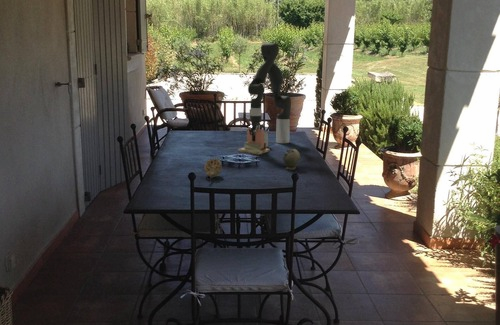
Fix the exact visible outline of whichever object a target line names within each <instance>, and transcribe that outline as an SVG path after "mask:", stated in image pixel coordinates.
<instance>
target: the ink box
mask: <svg viewBox="0 0 500 325" xmlns="http://www.w3.org/2000/svg"><path fill="white" fill-rule="evenodd" d="M268 132H269V131H268V130H264V143H266V148H268V147H269V134H268Z"/></svg>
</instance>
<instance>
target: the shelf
mask: <svg viewBox="0 0 500 325" xmlns="http://www.w3.org/2000/svg"><path fill="white" fill-rule="evenodd" d="M243 144H244V147H241V148H238V149H237V152H238V153H239V152H240V153H245V152H246V154H253V155H261V154H264V153H268V152H270V151H271V149H270V148H268V147H266V143H264V148H261V144H256V143H248V142H247V141H245V142H244V143H243Z"/></svg>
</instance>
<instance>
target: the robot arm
mask: <svg viewBox="0 0 500 325" xmlns="http://www.w3.org/2000/svg"><path fill="white" fill-rule="evenodd" d="M260 52H261V56H262V59H263V61H264V62H263V63H262V64H261V65H260V66H259V67H258V69H257V71H256V73H255V76H254V78H252V81H251V82H250V84H248V88H247V91H248V93H249V94H250V95H253V96H256V97H254V98H252V99H250V110H249V122H250V126H248V128H249V132H250V135H252V141H255V134H256V130H257V129H262V130H263V126H264V125H263V124H261V122H262V120H263V119H262V115H263V114H262V113H263V112H262V101H263V98H264V93H265V86H264V83H265V82H266V80H267V78H268V79H269V82H270V87H271V92H272V95H273V103H274V106H275V107H276V109H279V110H283V111H282V112H280V113H277V114H276V125H275V126H276V127H275V128H276V129H275V130H276V131H275V132H276V133H275V134H276V137H275V143H277V144H289V143H290V134H291V133H290V130H291V129H290V122H291V121H290V120H291V119H290V118H291V110H292V108H291V107H292V99H291V97H290V96H289V95H282V94H281V93H280V92H281V91H280V90H281V87H282V86H283V81H284V77H283V72H282V70H281V69H280V67H278V65H277V64H276V63H275V60H276V59H277V57H278V55H279V52H280V46H279V44H278V43H275V42H264V43H262V44H261V46H260ZM248 128H247V129H248ZM253 130H255V131H253ZM251 132H252V133H251Z"/></svg>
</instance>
